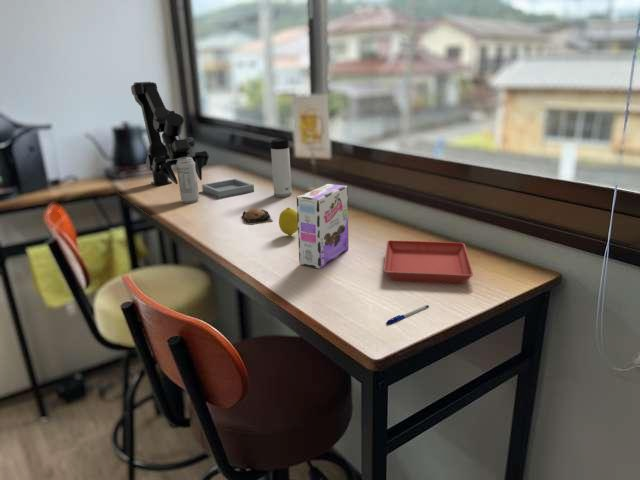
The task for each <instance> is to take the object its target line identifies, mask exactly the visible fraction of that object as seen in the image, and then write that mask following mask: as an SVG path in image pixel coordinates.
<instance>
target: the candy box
mask: <svg viewBox="0 0 640 480" xmlns="http://www.w3.org/2000/svg"><path fill="white" fill-rule="evenodd" d="M348 193H349V191H348V185H344V184H343V185H342V184H336V183H335V184H334V183H326V184H324V185H323V186H320V187H318V188H315V189H313V190H311V191H308V192H305V193H303V194H301V195H298V196H296V212H297V218H298V230H297V234H298V235H297V236H298V237H297V238H298V261H299V265H303V266H308V267H310V268H315V269H321V268H324V267H325V266H326V265H327V264H329V263H330V262H332V261H334V260H335V259H337V258H338V257H339V256H341V255H342V254H344V253H345V252H347V251H348V250H349V246H350V245H349V209H348V208H349V203H348V202H349V200H348V199H349V198H348Z"/></svg>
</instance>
